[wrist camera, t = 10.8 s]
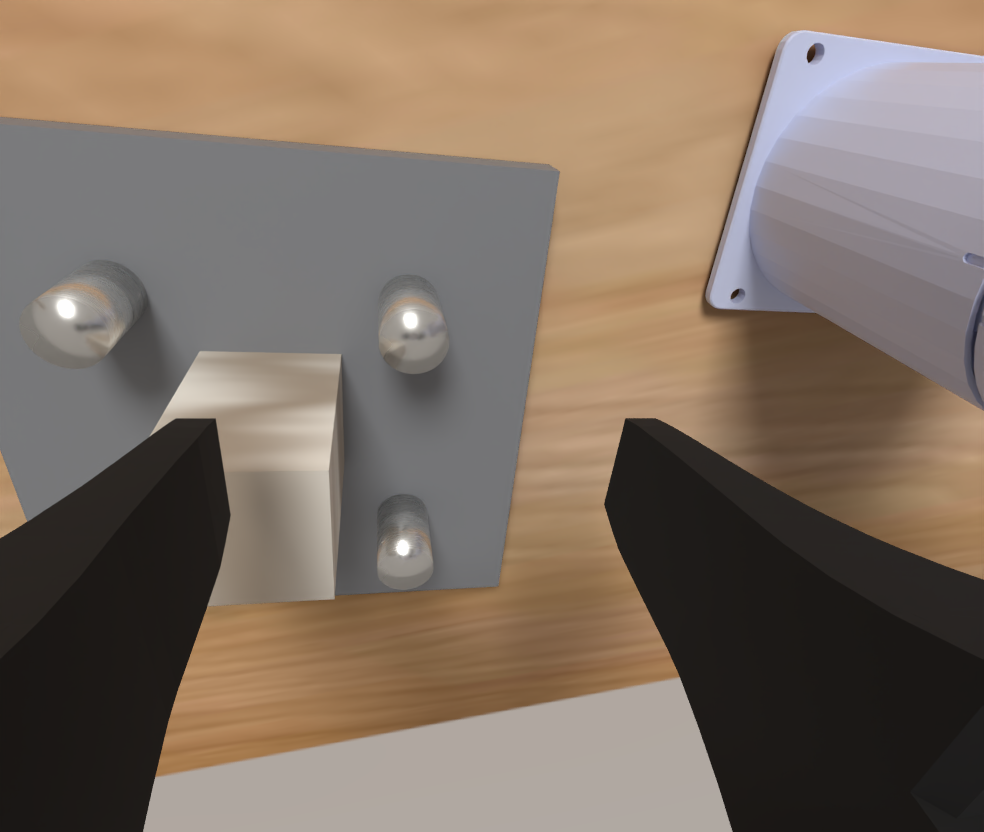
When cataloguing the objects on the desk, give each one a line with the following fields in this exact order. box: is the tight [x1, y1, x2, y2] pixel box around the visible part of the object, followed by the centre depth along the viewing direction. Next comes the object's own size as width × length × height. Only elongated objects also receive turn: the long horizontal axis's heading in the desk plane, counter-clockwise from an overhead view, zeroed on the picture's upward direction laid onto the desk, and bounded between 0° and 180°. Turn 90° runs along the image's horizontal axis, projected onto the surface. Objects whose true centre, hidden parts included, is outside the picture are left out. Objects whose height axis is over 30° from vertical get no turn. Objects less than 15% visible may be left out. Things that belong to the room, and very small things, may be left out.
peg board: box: [0, 117, 560, 595], centre depth 18 cm, size 16×16×4 cm
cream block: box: [150, 351, 344, 606], centre depth 16 cm, size 4×4×6 cm
